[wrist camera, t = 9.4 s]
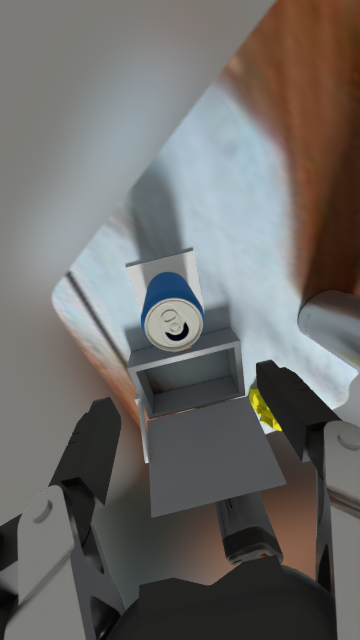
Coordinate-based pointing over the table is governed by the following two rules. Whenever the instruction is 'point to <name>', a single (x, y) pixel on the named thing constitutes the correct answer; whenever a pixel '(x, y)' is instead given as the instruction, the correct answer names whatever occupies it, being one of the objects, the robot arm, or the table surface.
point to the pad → (148, 270)
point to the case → (201, 432)
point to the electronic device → (246, 529)
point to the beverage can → (171, 313)
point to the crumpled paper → (263, 409)
